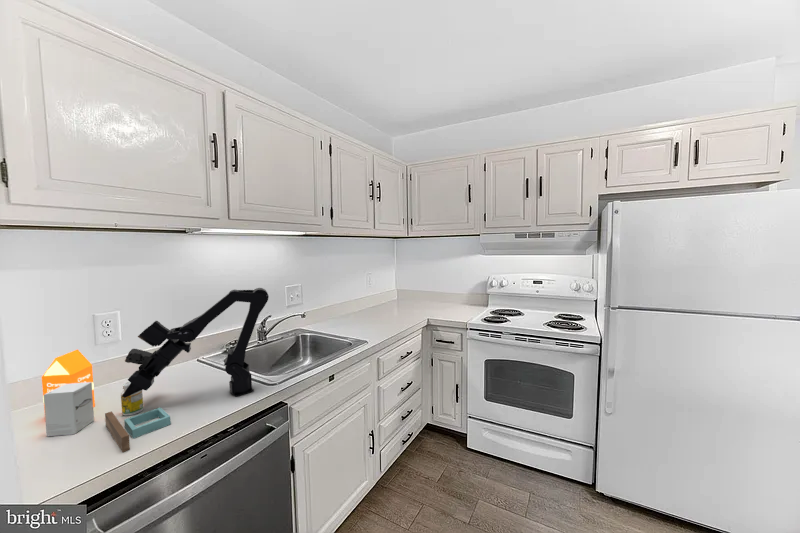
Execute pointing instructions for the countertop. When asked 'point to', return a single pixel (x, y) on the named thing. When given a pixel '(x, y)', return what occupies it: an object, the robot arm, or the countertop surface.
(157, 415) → the socket block
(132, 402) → the supplement bottle
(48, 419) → the supplement box
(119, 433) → the wall
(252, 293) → the robot arm
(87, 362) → the orange juice
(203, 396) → the countertop surface
